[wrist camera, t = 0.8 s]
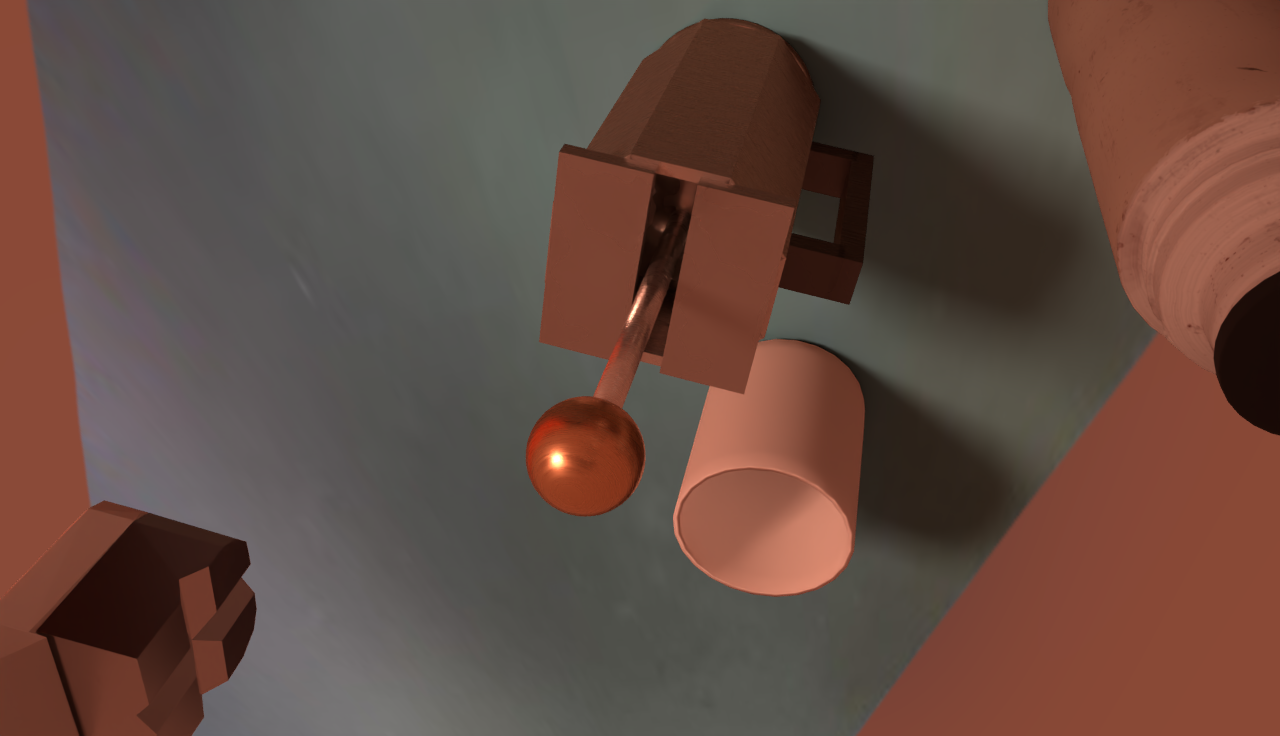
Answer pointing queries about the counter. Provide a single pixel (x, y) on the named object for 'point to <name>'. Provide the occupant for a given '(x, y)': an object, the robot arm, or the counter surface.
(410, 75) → the counter surface
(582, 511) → the copper ball on rod
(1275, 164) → the thermos bottle
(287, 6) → the counter surface
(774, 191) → the press carafe
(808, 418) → the mug
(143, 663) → the robot arm
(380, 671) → the counter surface
